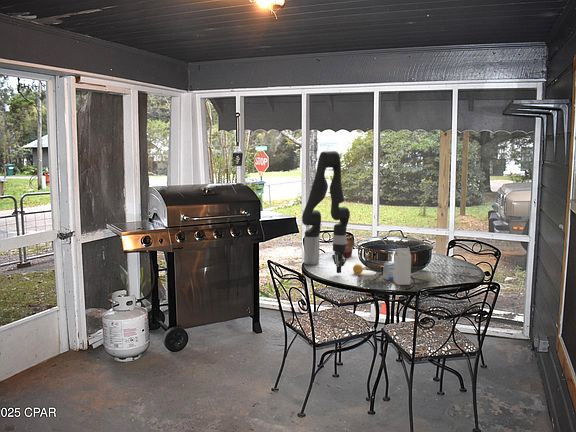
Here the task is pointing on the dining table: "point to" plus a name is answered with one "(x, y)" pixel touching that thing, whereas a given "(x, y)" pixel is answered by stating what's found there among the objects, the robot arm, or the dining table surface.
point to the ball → (357, 269)
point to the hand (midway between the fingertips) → (338, 272)
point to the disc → (367, 273)
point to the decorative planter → (349, 246)
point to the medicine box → (388, 271)
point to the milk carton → (402, 266)
